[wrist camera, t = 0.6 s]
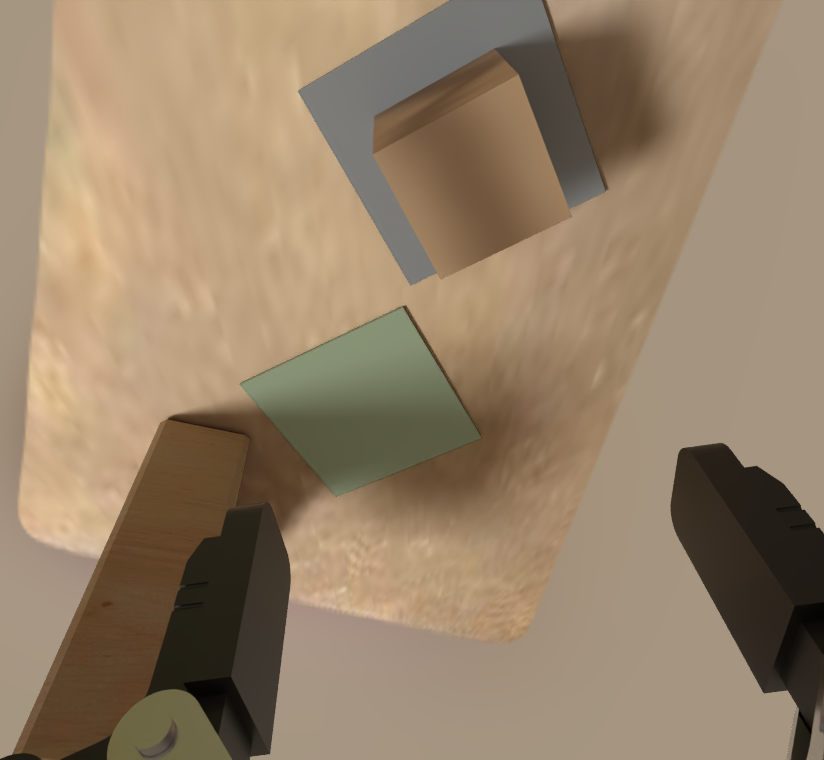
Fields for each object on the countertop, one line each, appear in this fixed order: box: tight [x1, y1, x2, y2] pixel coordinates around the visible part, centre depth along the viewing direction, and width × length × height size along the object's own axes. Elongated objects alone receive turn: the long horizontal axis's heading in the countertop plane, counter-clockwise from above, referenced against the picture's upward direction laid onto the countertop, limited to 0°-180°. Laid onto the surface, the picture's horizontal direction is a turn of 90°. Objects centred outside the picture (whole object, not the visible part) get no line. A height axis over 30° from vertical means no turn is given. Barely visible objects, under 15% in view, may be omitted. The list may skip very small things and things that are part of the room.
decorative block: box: [12, 420, 250, 760], centre depth 34 cm, size 11×6×20 cm, turn 161°
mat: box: [240, 306, 481, 497], centre depth 39 cm, size 11×11×1 cm
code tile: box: [298, 0, 606, 285], centre depth 30 cm, size 11×11×1 cm
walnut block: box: [373, 49, 572, 279], centre depth 27 cm, size 6×6×6 cm
